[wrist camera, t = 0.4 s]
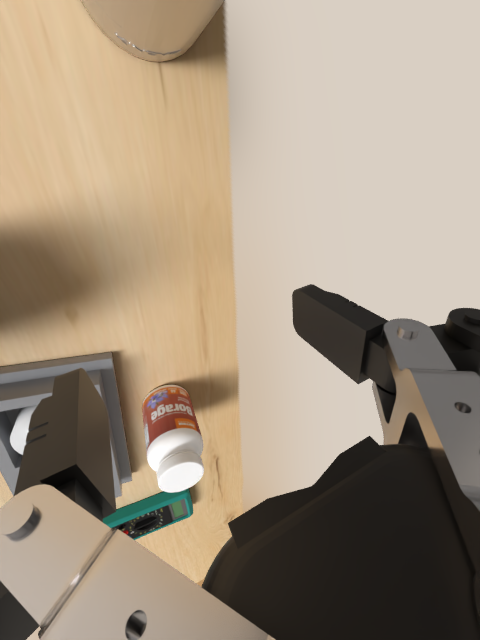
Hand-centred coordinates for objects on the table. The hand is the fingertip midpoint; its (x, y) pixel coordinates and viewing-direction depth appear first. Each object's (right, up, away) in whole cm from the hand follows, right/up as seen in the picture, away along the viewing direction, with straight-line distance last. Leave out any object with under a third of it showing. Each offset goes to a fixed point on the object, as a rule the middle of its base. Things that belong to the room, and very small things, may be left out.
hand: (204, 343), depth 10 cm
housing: (-20, -13, +23) cm, 33 cm away
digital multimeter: (-15, -31, +37) cm, 51 cm away
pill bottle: (-9, -10, +27) cm, 30 cm away
